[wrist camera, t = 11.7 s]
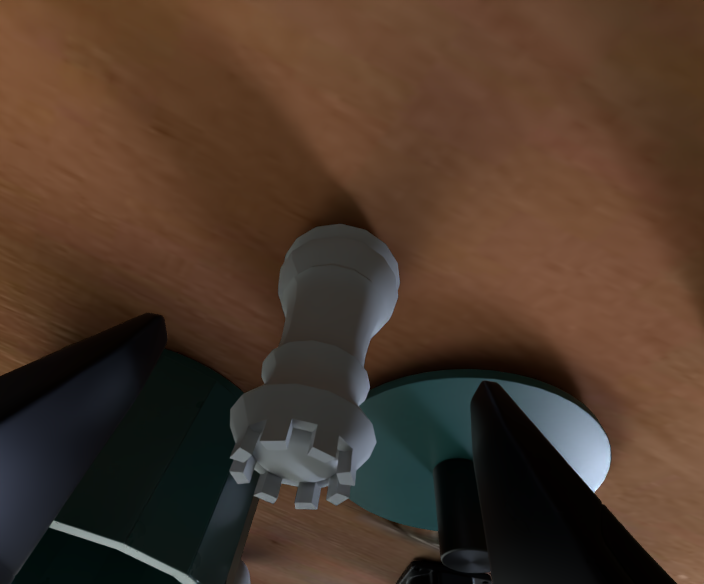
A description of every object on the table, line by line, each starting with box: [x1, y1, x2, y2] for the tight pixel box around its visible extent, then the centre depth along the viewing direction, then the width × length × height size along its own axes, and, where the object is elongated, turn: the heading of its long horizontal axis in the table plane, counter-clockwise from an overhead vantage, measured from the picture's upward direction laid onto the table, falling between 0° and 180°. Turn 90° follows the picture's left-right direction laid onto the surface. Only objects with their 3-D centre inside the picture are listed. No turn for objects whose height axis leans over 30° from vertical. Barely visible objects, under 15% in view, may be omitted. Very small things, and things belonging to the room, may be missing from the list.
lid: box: [349, 369, 611, 573], centre depth 17 cm, size 14×14×5 cm
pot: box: [11, 345, 260, 584], centre depth 17 cm, size 14×14×8 cm
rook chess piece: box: [229, 224, 400, 509], centre depth 10 cm, size 4×4×8 cm
